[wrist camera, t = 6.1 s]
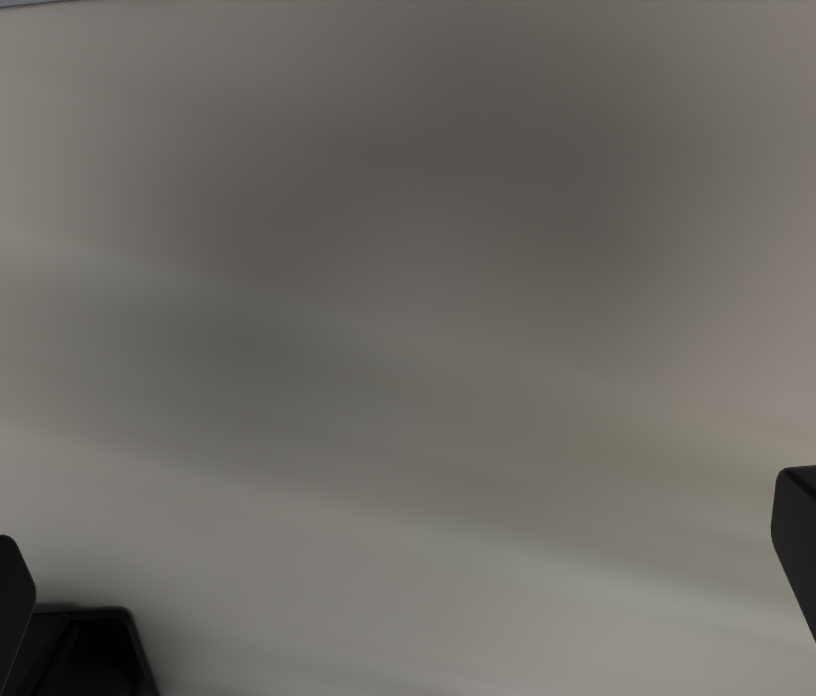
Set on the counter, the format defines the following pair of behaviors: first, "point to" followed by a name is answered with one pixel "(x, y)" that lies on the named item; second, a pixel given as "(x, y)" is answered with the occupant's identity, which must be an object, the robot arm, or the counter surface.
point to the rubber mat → (24, 2)
